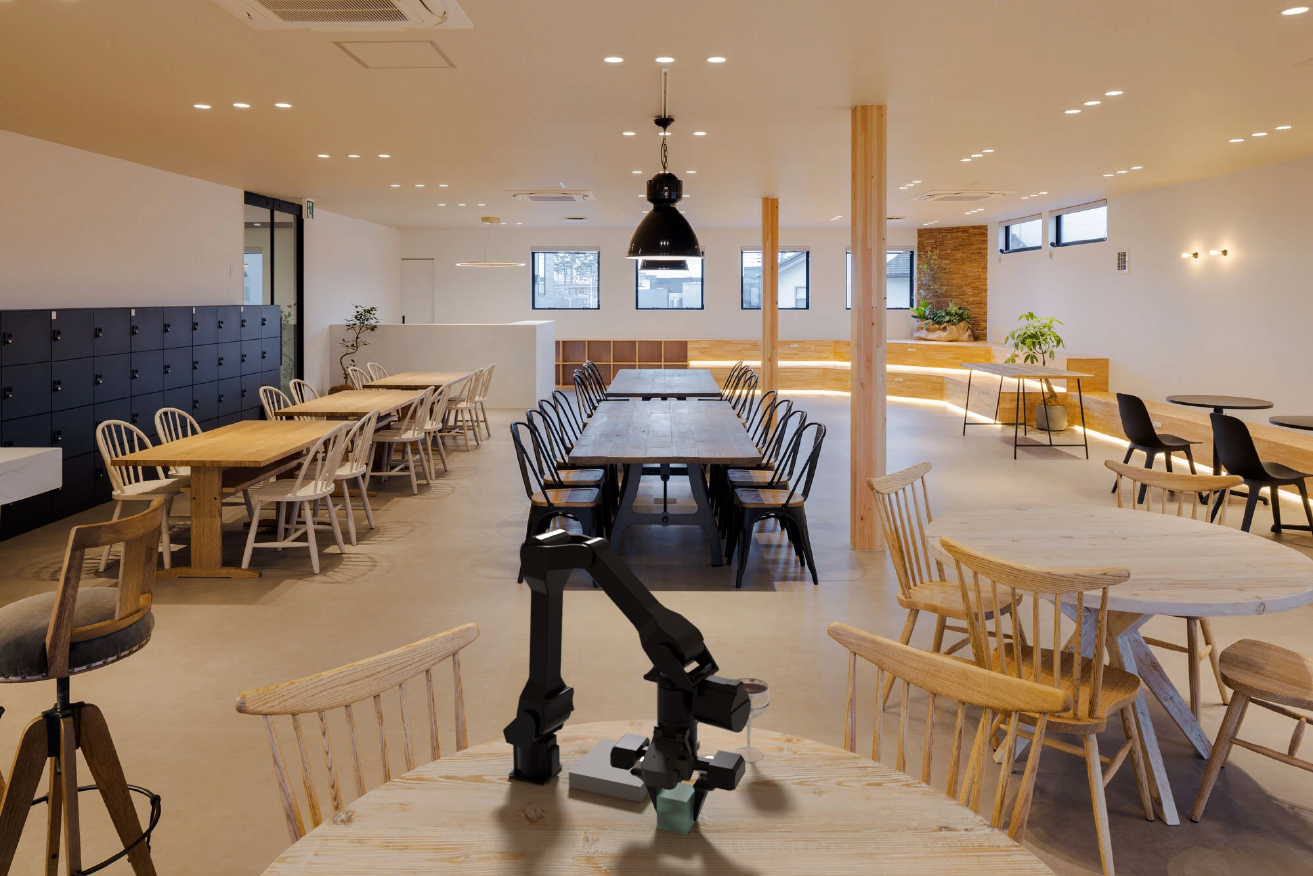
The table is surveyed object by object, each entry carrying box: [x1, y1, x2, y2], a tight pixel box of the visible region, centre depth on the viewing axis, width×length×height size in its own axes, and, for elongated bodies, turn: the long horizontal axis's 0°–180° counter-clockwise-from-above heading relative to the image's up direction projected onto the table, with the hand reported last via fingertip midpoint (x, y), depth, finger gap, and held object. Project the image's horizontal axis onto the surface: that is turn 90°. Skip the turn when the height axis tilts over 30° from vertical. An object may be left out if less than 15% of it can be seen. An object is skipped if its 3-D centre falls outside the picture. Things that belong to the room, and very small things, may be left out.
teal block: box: [656, 782, 695, 836], centre depth 130 cm, size 4×4×5 cm
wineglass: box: [733, 677, 771, 763], centre depth 149 cm, size 7×7×12 cm
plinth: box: [568, 737, 649, 803], centre depth 143 cm, size 12×12×2 cm
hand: (677, 816), depth 130 cm, fingers open, 5 cm apart
